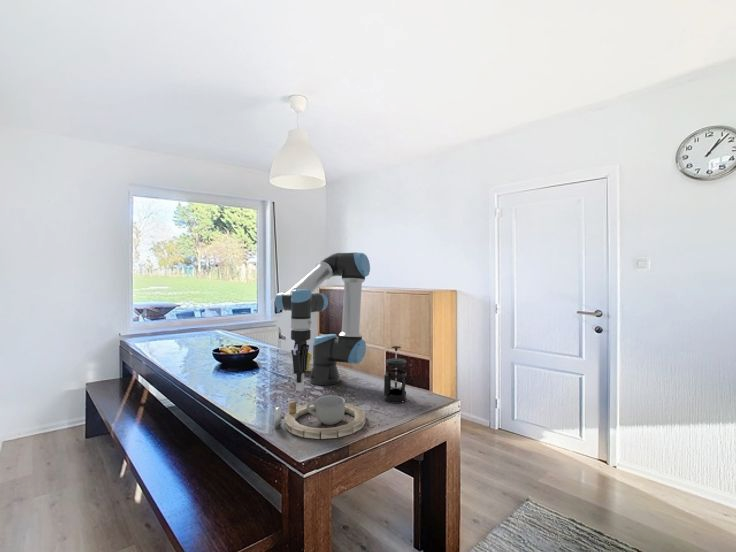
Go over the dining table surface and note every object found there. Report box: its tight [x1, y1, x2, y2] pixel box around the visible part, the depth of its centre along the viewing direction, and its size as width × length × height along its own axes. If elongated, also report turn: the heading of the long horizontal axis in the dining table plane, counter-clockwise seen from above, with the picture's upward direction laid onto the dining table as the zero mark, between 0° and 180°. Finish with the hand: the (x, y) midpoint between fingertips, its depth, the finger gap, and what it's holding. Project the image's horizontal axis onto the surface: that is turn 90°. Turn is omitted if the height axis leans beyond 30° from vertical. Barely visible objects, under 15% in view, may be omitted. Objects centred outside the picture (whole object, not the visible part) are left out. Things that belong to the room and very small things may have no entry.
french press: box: [383, 345, 408, 403], centre depth 161 cm, size 12×9×23 cm
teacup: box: [306, 394, 346, 426], centre depth 138 cm, size 14×11×8 cm
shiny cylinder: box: [273, 406, 285, 430], centre depth 132 cm, size 2×3×7 cm
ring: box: [284, 400, 367, 440], centre depth 137 cm, size 29×29×6 cm
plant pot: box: [291, 351, 312, 372], centre depth 207 cm, size 10×10×10 cm
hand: (300, 390), depth 145 cm, fingers closed
